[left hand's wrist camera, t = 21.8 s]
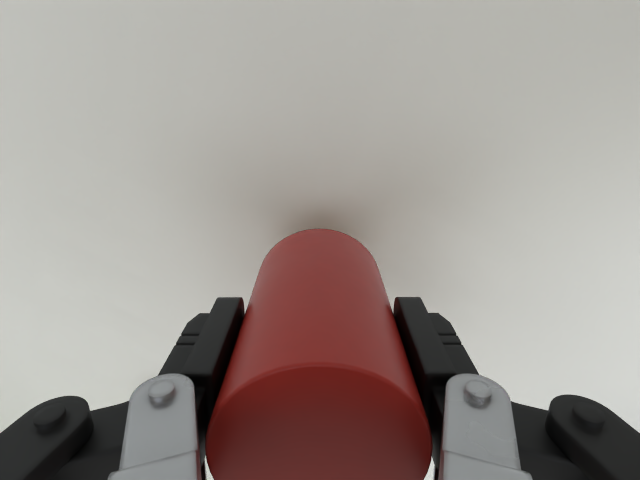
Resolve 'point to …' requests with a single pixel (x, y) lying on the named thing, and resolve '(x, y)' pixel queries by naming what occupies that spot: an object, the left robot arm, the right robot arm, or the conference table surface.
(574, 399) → the left robot arm
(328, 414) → the can
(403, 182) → the conference table surface
